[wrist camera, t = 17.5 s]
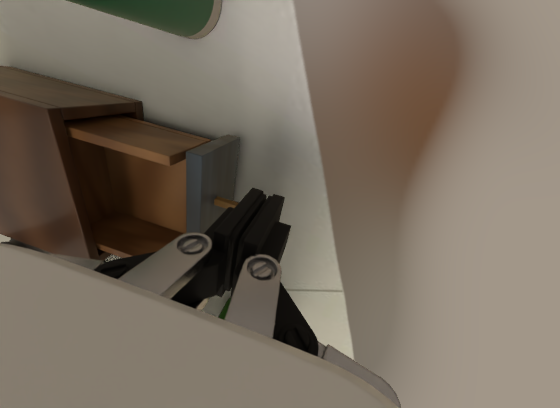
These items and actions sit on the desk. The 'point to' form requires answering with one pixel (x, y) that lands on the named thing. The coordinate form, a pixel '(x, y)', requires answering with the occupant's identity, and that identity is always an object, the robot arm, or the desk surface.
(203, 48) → the desk surface
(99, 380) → the robot arm
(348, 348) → the desk surface
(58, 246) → the cabinet
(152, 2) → the can
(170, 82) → the desk surface
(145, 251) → the drawer
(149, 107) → the desk surface
